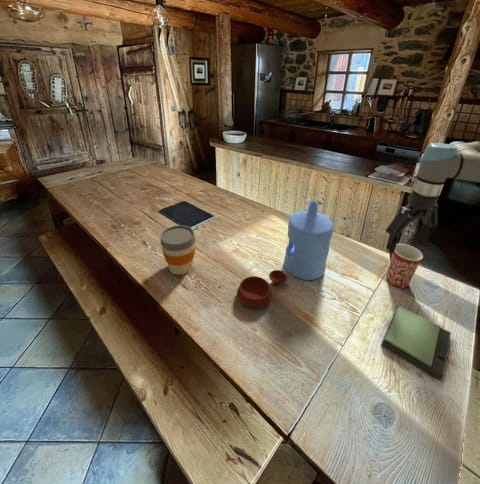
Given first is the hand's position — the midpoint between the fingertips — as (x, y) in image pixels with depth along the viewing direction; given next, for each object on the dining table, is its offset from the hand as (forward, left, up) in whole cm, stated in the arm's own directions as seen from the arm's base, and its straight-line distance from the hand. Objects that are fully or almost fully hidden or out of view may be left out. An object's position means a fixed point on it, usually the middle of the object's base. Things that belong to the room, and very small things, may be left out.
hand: (405, 246), depth 93 cm
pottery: (+50, -8, -14) cm, 52 cm away
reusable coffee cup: (+76, -29, -14) cm, 82 cm away
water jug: (+30, -15, -14) cm, 36 cm away
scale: (+15, +22, -14) cm, 30 cm away
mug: (0, 0, -14) cm, 14 cm away
